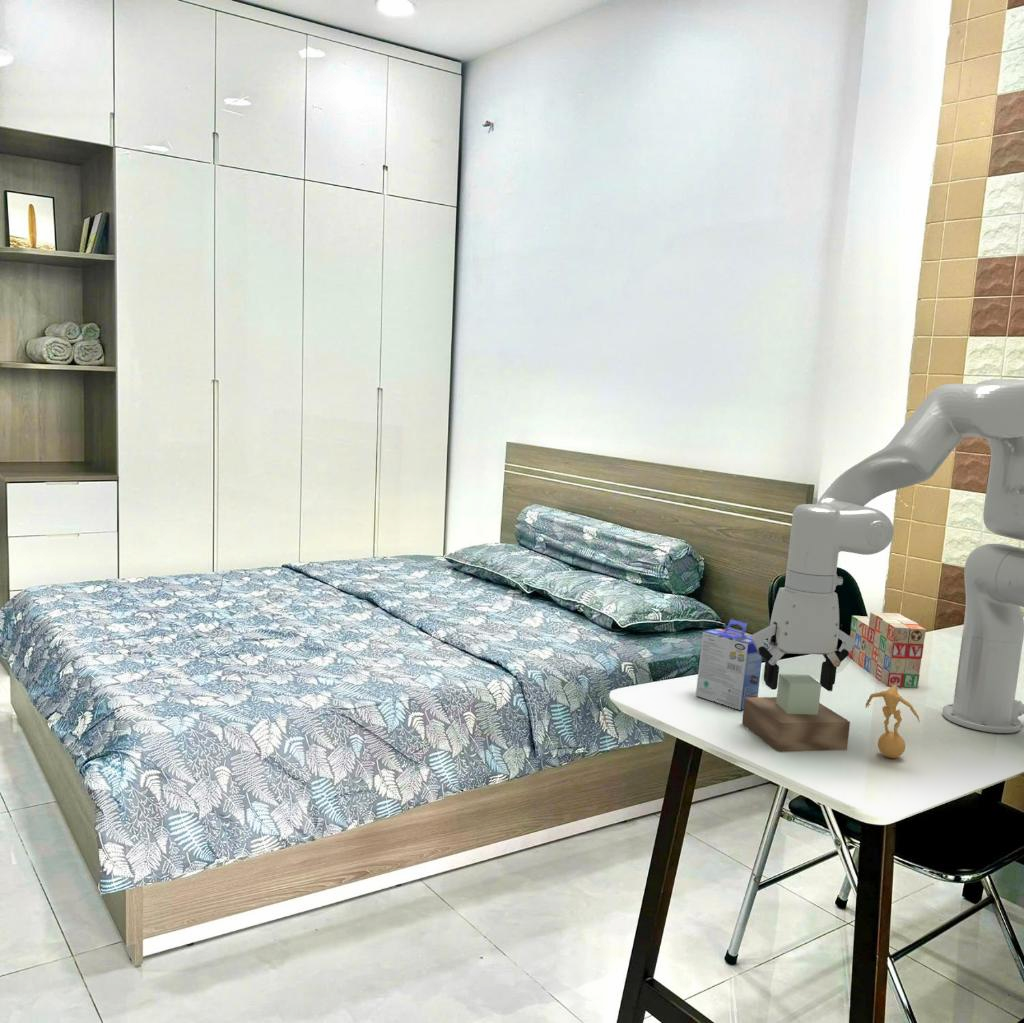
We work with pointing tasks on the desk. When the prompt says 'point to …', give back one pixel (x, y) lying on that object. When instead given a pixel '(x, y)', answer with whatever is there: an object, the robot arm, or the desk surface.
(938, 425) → the robot arm
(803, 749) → the walnut block
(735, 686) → the ink cartridge box
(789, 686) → the sage cube
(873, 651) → the stack of blocks
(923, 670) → the desk surface
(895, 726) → the figurine
